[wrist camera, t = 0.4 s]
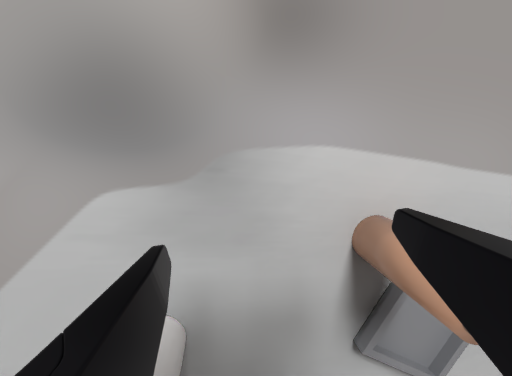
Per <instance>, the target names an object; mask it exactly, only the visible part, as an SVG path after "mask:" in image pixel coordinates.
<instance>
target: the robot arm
mask: <svg viewBox="0 0 512 376" xmlns="http://www.w3.org/2000/svg"><path fill="white" fill-rule="evenodd" d="M392 231H393V233H394V235H395V236H396V238H397V239H398V241H399V242H400V244H401V245H402V247H403V248H404V250H405V251H406V253H407V254H408V256H409V257H410V259H411V260H412V262H413V263H414V265H415V266H416V267H417V269H418V270H419V271H420V272H421V274H422V275H423V276H424V277H425V279H426V280H427V281H428V282H429V284H430V285H431V286H432V287H433V289H434V290H435V291H436V292H437V294H438V295H439V296H440V297H441V299H442V300H443V301H444V302H445V304H446V305H447V306H448V307H449V309H450V310H451V311H452V312H453V314H454V315H455V316H456V317H457V319H458V320H459V321H460V322H461V323H462V325H463V326H464V327H465V328H466V330H467V331H468V332H469V333H470V335H471V336H472V337H473V338H474V340H475V341H476V342H477V343H478V345H479V346H480V347H481V348H482V350H483V351H484V352H485V353H486V355H487V356H488V357H489V358H490V360H491V361H492V362H493V363H494V365H495V366H496V367H497V368H498V370H499V371H500V372H501V373H502V375H503V376H512V241H511V240H508V239H504V238H501V237H498V236H495V235H492V234H489V233H485V232H482V231H479V230H476V229H473V228H469V227H466V226H463V225H460V224H457V223H454V222H450V221H447V220H444V219H441V218H438V217H435V216H431V215H428V214H425V213H422V212H419V211H415V210H412V209H409V208H403V209H398V210H396V211H395V214H394V218H393V222H392ZM170 276H171V261H170V258H169V255H168V252H167V249H166V247H165V245H158V246H153V247H151V248H150V249H149V250H148V251H147V252H146V253H145V254H144V255H143V256H142V257H141V258H140V259H139V260H138V261H136V262H135V263H134V264H133V265H132V266H131V267H130V268H129V269H128V270H127V271H126V272H125V273H124V274H123V275H122V276H121V277H120V278H119V279H117V280H116V281H115V282H114V283H113V284H112V285H111V286H110V287H109V288H108V289H107V290H106V291H105V292H104V293H103V294H102V295H101V296H100V297H98V298H97V299H96V300H95V301H94V302H93V303H92V304H91V305H90V306H89V307H88V308H87V309H86V310H85V311H84V312H83V313H82V314H81V315H79V316H78V317H77V318H76V319H75V320H74V321H73V322H72V323H71V324H70V325H69V326H68V327H67V328H66V329H65V330H64V331H63V333H60V334H59V335H58V336H57V337H56V338H55V339H54V340H53V341H52V342H51V343H50V344H49V345H48V346H47V347H45V348H44V349H43V350H42V351H41V352H40V353H39V354H38V355H37V356H36V357H35V358H34V359H32V360H31V361H30V362H29V363H28V364H27V365H26V366H25V367H24V368H23V369H21V370H20V371H19V372H18V373H17V374H16V375H15V376H153V375H154V370H155V366H156V361H157V356H158V351H159V347H160V342H161V337H162V332H163V327H164V323H165V318H166V313H167V307H168V297H169V287H170Z"/></svg>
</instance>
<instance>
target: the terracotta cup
mask: <svg viewBox="0 0 512 376" xmlns="http://www.w3.org/2000/svg"><path fill="white" fill-rule="evenodd" d="M392 222H393V220H391V219H388V218H386V217H384V216H380V215H374V216H370V217H367V218H365V219H364V220H362V221H361V222H360V223H359V224H358V225H357V227H356V228H355V230H354V233H353V237H352V244H353V248H354V250H355V251H356V253H357V254H358V255H359V256H361V257H362V258H363V259H364V260H365V261H367V262H368V263H369V264H370V265H372V266H373V267H374V268H375V269H376V270H378V271H379V272H380V273H381V274H383V275H384V276H385V277H386V278H387V279H389V280H390V281H391V282H392V283H394V284H395V285H396V286H397V287H398V288H400V289H401V290H402V291H403V292H405V293H406V294H407V295H408V296H409V297H411V298H412V299H413V300H414V301H416V302H417V303H418V304H419V305H420V306H422V307H423V308H424V309H425V310H427V311H428V312H429V313H430V314H432V315H433V316H434V317H435V318H436V319H438V320H439V321H440V322H441V323H443V324H444V325H445V326H446V327H447V328H449V329H450V330H451V331H452V332H454V333H455V334H456V335H457V336H458V337H460V338H461V339H462V340H464V341H465V342H467V343H470V344H474V345H478V343H477V342H476V341H475V340H474V338H473V337H472V336H471V335H470V333H469V332H468V331H467V330H466V328H465V327H464V326H463V325H462V323H461V322H460V321H459V320H458V319H457V317H456V316H455V315H454V314H453V312H452V311H451V310H450V309H449V307H448V306H447V305H446V304H445V302H444V301H443V300H442V299H441V297H440V296H439V295H438V294H437V292H436V291H435V290H434V289H433V287H432V286H431V285H430V284H429V282H428V281H427V280H426V279H425V277H424V276H423V275H422V274H421V272H420V271H419V270H418V269H417V267H416V266H415V265H414V263H413V262H412V260H411V259H410V257H409V256H408V254H407V253H406V251H405V250H404V248H403V247H402V245H401V244H400V242H399V241H398V239H397V238H396V236H395V235H394V233H393V231H392Z"/></svg>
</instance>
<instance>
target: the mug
mask: <svg viewBox="0 0 512 376" xmlns="http://www.w3.org/2000/svg"><path fill="white" fill-rule="evenodd" d="M185 344H186V332H185V329H184V327H183V326H182V325H181V323H180V322H179V321H177V320H176V319H174V318H172V317H170V316H166V318H165V323H164V327H163V332H162V337H161V342H160V347H159V351H158V356H157V361H156V366H155V370H154V375H153V376H180V372H181V367H182V362H183V355H184V349H185Z"/></svg>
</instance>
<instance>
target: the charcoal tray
mask: <svg viewBox="0 0 512 376" xmlns="http://www.w3.org/2000/svg"><path fill="white" fill-rule="evenodd" d="M353 341H354V342H355V344H356V345H357V347H358V348H359V350H360V351H361V353H362V354H364V355H366V356H368V357H371V358H373V359H375V360H378V361H380V362H383V363H385V364H387V365H390V366H392V367H394V368H397V369H399V370H401V371H404V372H406V373H408V374H411V375H413V376H446V375H447V373H448V372H449V371H450V369H451V368H452V366H453V365H454V364H455V362H456V361H457V359H458V358H459V357H460V355H461V354H462V352H463V351H464V350H465V348H466V347H467V345H468V344H469V343H467V342H465V341H464V340H462V339H461V338H460V337H458V336H457V335H456V334H455V333H454V332H452V331H451V330H450V329H449V328H447V327H446V326H445V325H444V324H443V323H441V322H440V321H439V320H438V319H436V318H435V317H434V316H433V315H432V314H430V313H429V312H428V311H427V310H425V309H424V308H423V307H422V306H420V305H419V304H418V303H417V302H416V301H414V300H413V299H412V298H411V297H409V296H408V295H407V294H406V293H405V292H403V291H402V290H401V289H400V288H398V287H397V286H396V285H395V284H394V283H392V282H391V283H390V285H389V286H388V288H387V289H386V291H385V292H384V294H383V295H382V297H381V298H380V300H379V302H378V303H377V305H376V306H375V308H374V309H373V311H372V312H371V314H370V315H369V317H368V318H367V320H366V321H365V323H364V324H363V326H362V328H361V329H360V331H359V332H358V334H357V335H356V337H355V338H354V340H353Z"/></svg>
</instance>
